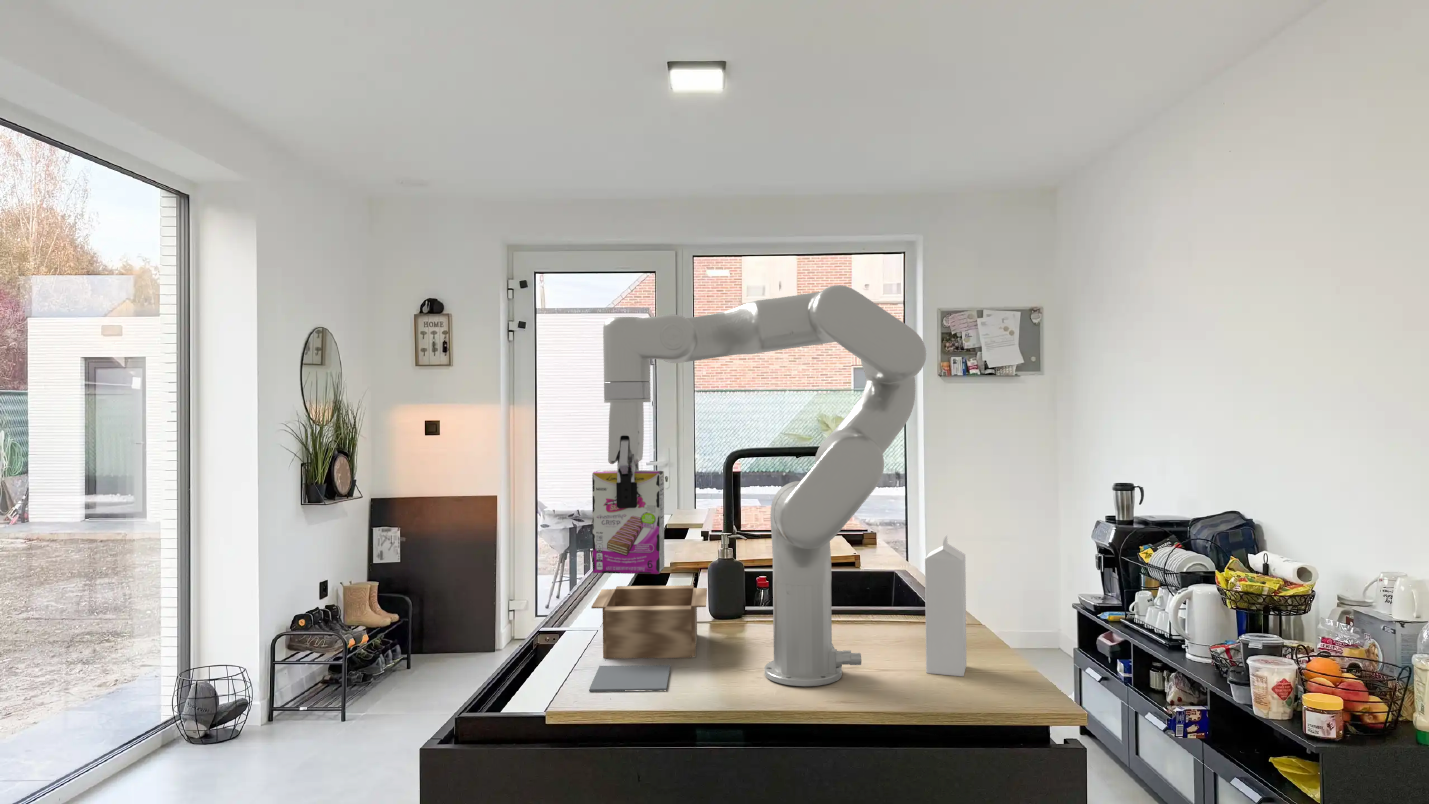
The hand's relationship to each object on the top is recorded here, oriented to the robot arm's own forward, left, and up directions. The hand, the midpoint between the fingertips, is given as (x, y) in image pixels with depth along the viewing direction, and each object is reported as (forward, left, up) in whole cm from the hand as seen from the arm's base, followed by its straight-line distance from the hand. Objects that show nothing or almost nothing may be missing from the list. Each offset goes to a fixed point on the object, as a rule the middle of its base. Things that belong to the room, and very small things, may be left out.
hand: (628, 504), depth 143 cm
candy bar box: (0, 0, -11) cm, 11 cm away
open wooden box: (-2, -19, -28) cm, 34 cm away
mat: (0, 0, -28) cm, 28 cm away
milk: (-52, -3, -29) cm, 59 cm away
